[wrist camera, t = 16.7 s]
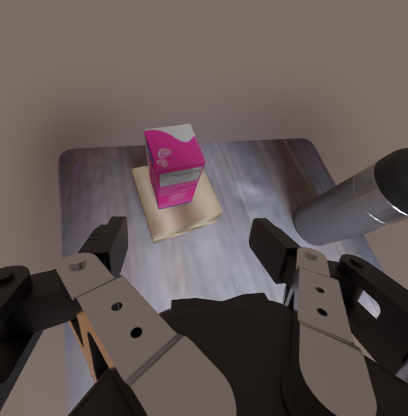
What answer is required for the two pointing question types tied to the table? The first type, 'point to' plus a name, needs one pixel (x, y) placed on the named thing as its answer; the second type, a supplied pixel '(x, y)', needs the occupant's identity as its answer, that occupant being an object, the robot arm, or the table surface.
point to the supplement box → (173, 164)
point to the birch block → (176, 208)
